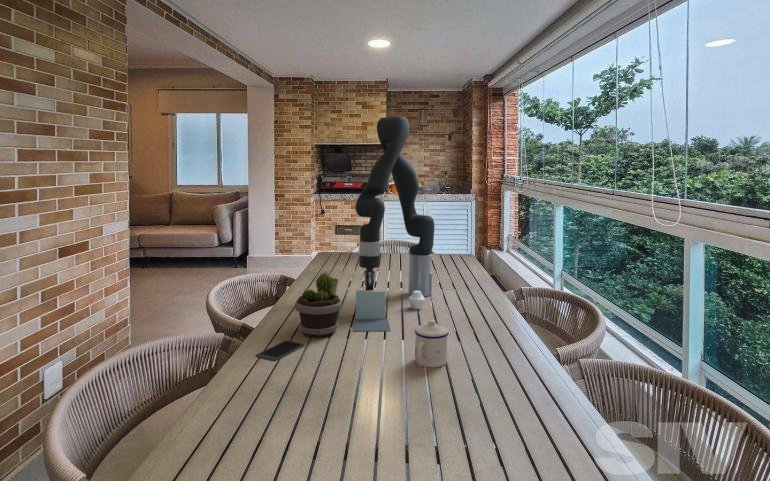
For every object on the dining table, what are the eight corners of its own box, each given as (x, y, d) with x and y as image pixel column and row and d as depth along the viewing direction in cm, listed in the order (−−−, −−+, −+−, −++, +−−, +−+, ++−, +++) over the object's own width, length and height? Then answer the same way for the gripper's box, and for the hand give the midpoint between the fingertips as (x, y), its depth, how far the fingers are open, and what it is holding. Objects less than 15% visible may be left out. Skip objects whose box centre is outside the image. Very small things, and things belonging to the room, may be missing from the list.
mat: (387, 319, 169) (387, 319, 169) (390, 331, 157) (390, 330, 157) (353, 319, 168) (353, 319, 168) (353, 331, 157) (353, 331, 157)
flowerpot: (323, 344, 145) (322, 278, 142) (285, 334, 153) (284, 272, 150) (351, 330, 157) (351, 270, 154) (315, 322, 165) (314, 264, 162)
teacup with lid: (423, 352, 139) (424, 313, 138) (452, 359, 135) (454, 319, 133) (402, 367, 129) (403, 325, 128) (433, 375, 125) (434, 331, 123)
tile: (384, 317, 172) (384, 290, 170) (384, 319, 170) (385, 291, 168) (356, 317, 171) (356, 290, 169) (356, 319, 169) (356, 291, 168)
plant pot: (335, 305, 185) (335, 283, 184) (311, 304, 187) (311, 282, 186) (342, 299, 194) (342, 278, 193) (319, 297, 196) (319, 276, 195)
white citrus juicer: (423, 311, 180) (424, 292, 179) (407, 309, 181) (407, 291, 180) (425, 306, 186) (426, 288, 185) (409, 305, 187) (410, 287, 186)
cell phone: (254, 357, 135) (254, 355, 135) (286, 342, 148) (286, 339, 147) (275, 362, 132) (275, 360, 132) (305, 346, 144) (305, 344, 144)
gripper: (381, 256, 168) (380, 305, 170) (379, 250, 181) (378, 295, 183) (359, 256, 167) (359, 305, 170) (358, 250, 180) (358, 295, 183)
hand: (369, 300), depth 176 cm, fingers closed
